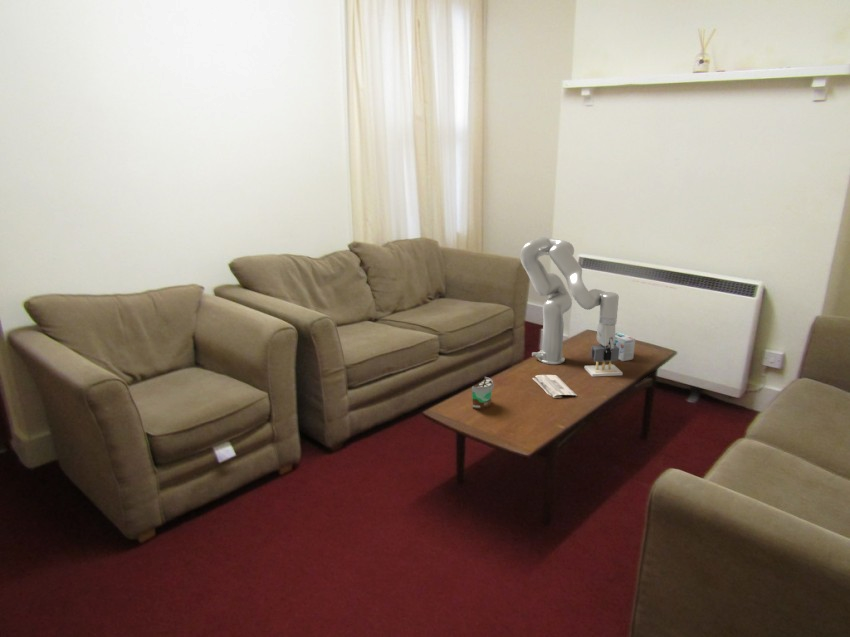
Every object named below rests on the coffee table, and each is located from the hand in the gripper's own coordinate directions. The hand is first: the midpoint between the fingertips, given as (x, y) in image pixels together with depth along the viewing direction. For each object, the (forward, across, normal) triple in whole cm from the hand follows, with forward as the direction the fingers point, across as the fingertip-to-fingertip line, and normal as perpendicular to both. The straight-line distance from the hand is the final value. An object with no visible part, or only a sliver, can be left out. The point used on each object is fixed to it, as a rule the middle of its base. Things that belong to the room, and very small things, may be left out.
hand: (604, 357), depth 259 cm
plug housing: (+1, 0, 0) cm, 1 cm away
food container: (+7, +28, -61) cm, 68 cm away
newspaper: (+8, +14, -28) cm, 32 cm away
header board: (+7, 0, 0) cm, 7 cm away
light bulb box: (+7, -17, +16) cm, 24 cm away
